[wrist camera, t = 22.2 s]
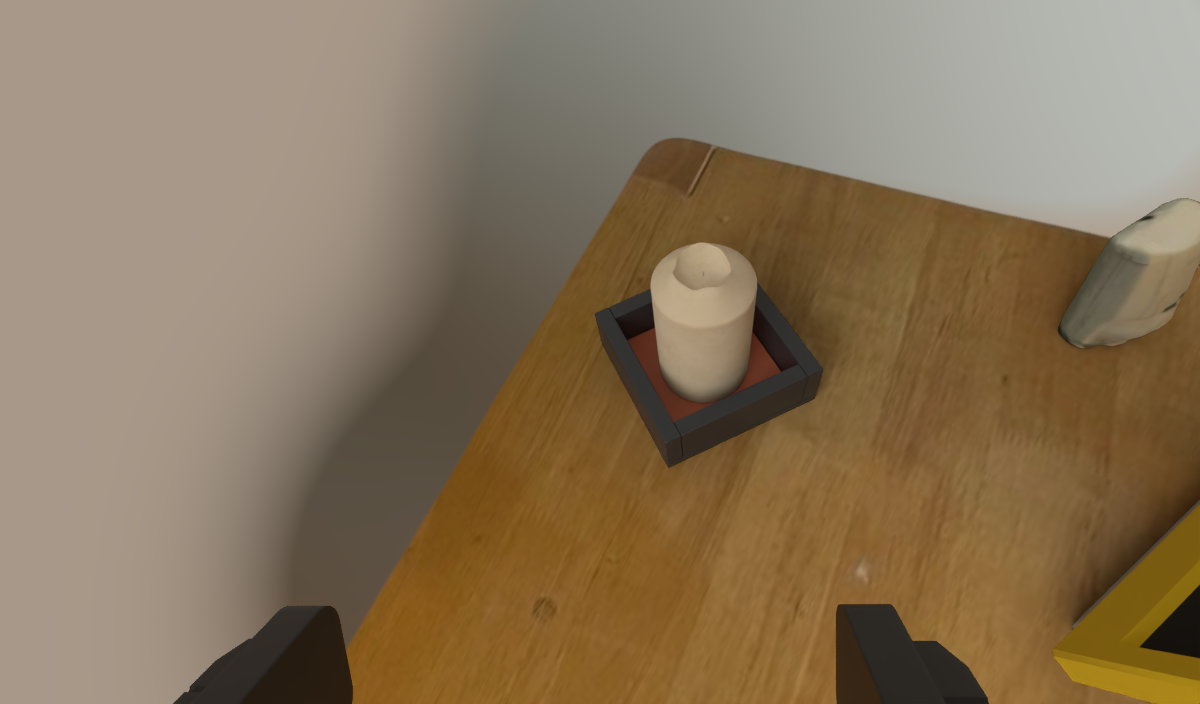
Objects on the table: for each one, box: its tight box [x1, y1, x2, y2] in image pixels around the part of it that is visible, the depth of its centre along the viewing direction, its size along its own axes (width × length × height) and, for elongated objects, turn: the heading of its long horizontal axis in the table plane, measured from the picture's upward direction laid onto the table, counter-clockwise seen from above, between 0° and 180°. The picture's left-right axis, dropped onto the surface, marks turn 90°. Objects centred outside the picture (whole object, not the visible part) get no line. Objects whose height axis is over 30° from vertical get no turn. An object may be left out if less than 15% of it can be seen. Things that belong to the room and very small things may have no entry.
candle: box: [651, 242, 757, 403], centre depth 37 cm, size 6×6×10 cm
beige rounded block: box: [1058, 198, 1200, 348], centre depth 36 cm, size 6×5×8 cm
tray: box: [595, 283, 823, 467], centre depth 40 cm, size 10×10×4 cm
